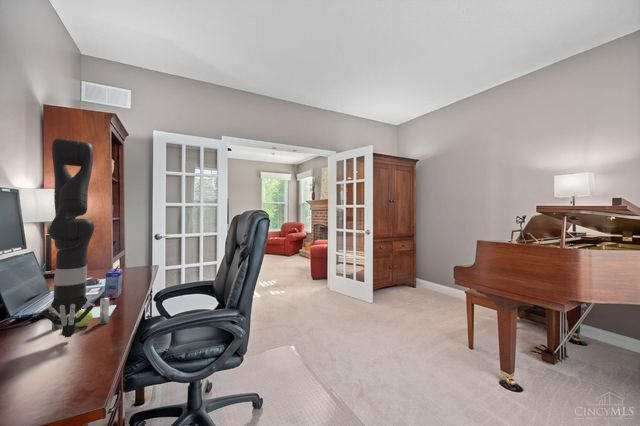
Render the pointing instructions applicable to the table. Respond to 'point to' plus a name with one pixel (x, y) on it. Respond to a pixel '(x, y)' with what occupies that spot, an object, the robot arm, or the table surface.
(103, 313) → the post
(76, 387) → the table surface
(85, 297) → the robot arm
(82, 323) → the ball
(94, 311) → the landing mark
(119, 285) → the ink cartridge box
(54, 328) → the post
